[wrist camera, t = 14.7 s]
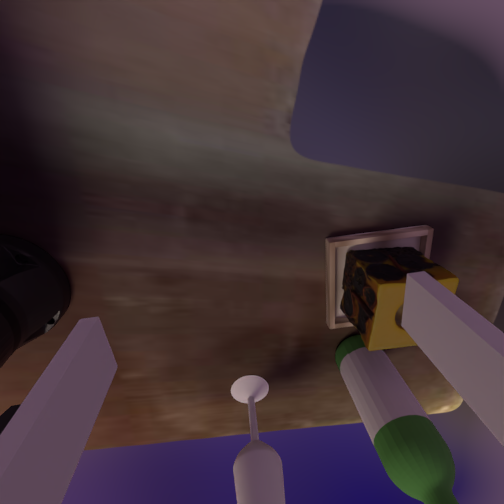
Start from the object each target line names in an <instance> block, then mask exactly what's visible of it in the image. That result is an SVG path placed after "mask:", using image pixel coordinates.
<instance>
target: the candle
mask: <svg viewBox="0 0 504 504" xmlns="http://www.w3.org/2000/svg"><path fill="white" fill-rule="evenodd" d="M422 271H425V272H426V273H427V274H429V275H430V276H431V277H433V278H434V279H435V280H436V281H438V282H439V283H440V284H442V285H443V286H444V287H445V288H447V289H448V290H449V291H451V292H452V293H453V294H454V295H455V293H456V289H457V286H458V282H459V279H458V278H457V277H456V276H455V275H454V274H452V273H451V272H449V271H448V270H446V269H445V268H443V267H441V266H440V265H438V264H435V263H434V262H433V261H431V260H430V259H428V258H426V257H425V256H424V254H422V253H421V252H420V251H417V250H416V249H415V248H414V247H394V248H378V249H375V248H374V249H369V250H355V251H354V250H350V251H349V252H347V253H346V259H345V268H344V272H343V281H342V285H343V286H342V289H343V290H344V293H343V297H342V300H341V304H340V309H341V310H342V312H343V313H344V314H345V316H347V319H348V320H349V322H350V323H352V324H353V326H355V327H356V328H357V329H358V331H359V333H360V334H361V338H362V340H363V342H364V344H365V347H366V348H367V350H369V351H375V350H382V349H391V348H398V347H406V346H415V345H417V344H416V342H415V341H414V340H413V339H412V338H411V336H410V335H409V334H408V333H407V332H406V330H405V329H404V328H403V327H402V326H401V323H402V314H403V305H404V296H405V288H406V279H407V274H408V273H415V272H422Z"/></svg>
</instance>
